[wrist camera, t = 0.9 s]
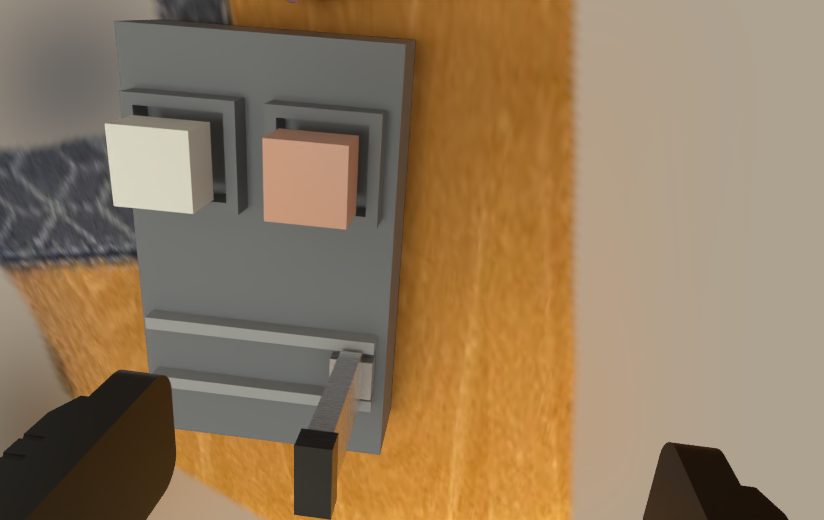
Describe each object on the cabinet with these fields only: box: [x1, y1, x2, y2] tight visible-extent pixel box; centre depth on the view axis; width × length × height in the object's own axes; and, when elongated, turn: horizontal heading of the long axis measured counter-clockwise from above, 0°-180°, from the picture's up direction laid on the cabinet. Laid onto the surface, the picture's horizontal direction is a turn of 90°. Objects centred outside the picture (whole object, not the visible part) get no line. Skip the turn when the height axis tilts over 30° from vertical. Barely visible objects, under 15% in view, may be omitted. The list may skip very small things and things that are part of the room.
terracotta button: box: [262, 128, 359, 230], centre depth 24 cm, size 3×3×2 cm
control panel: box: [114, 20, 416, 455], centre depth 30 cm, size 20×12×5 cm, turn 176°
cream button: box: [105, 115, 214, 214], centre depth 25 cm, size 3×3×2 cm
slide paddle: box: [294, 350, 376, 520], centre depth 27 cm, size 3×2×8 cm, turn 176°
